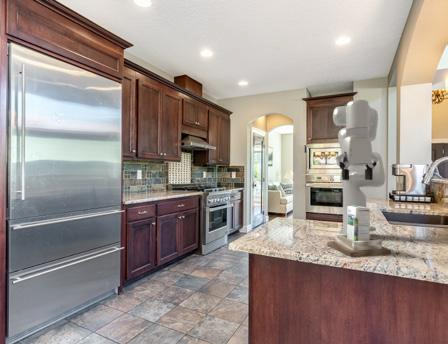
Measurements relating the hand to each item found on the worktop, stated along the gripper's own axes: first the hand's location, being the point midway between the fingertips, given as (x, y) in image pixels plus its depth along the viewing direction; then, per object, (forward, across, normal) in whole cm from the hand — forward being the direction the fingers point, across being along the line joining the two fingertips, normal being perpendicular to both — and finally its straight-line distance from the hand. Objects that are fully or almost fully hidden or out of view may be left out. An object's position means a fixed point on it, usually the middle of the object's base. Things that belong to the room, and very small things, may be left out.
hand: (357, 179), depth 98 cm
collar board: (+26, 0, 0) cm, 26 cm away
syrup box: (+25, 0, 0) cm, 25 cm away
